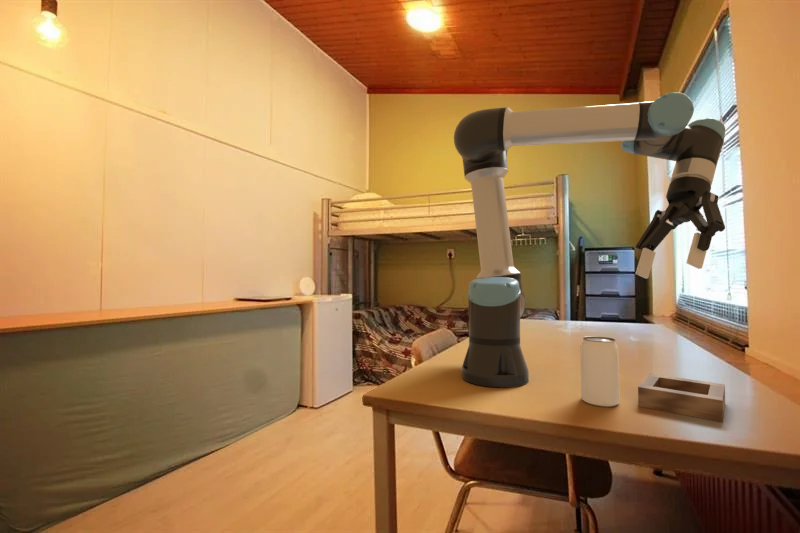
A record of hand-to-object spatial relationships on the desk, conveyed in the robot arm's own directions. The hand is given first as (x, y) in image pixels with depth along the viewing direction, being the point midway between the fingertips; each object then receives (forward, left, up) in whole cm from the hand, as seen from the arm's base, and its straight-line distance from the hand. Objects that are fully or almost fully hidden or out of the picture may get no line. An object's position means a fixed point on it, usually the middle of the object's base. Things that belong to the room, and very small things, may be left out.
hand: (665, 271), depth 81 cm
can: (-9, -17, -25) cm, 31 cm away
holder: (+3, -9, -25) cm, 26 cm away
